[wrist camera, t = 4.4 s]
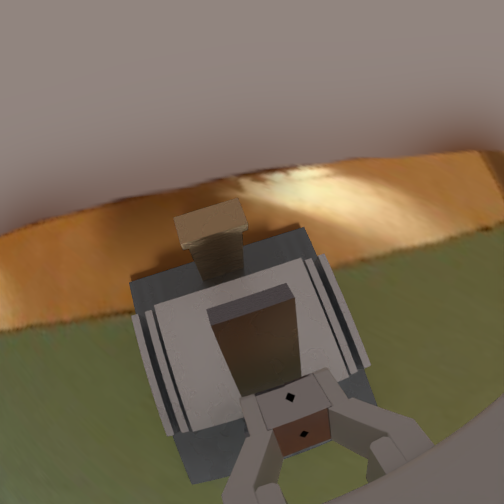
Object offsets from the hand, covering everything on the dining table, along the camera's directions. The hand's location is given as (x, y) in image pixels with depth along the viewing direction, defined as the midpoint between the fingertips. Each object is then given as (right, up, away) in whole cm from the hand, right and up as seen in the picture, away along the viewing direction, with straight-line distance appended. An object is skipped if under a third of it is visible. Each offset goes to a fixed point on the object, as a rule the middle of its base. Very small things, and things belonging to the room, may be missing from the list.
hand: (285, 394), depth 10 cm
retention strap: (0, -2, +6) cm, 7 cm away
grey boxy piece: (-1, -5, +18) cm, 19 cm away
